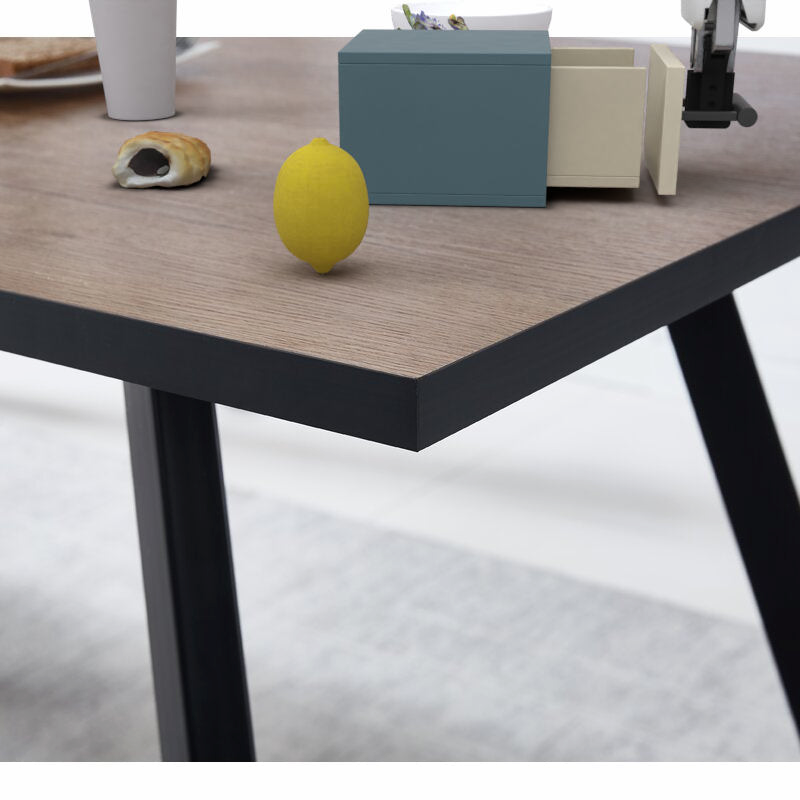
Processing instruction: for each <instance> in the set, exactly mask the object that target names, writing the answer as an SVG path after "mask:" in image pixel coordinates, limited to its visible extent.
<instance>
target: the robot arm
mask: <svg viewBox="0 0 800 800" xmlns="http://www.w3.org/2000/svg"><path fill="white" fill-rule="evenodd" d="M766 8H767V0H680V14H681V18H682V19H683V20H684V21H685V22H686V23H687V24H689V25H690V26H691V28H690V29H691V35H690V53H689V69H687V71H686V84H685V85H686V86H685V97H684V98H685V107H684V110H683V111H732V102H733V93H734V89H735V78H736V72H735V63H736V55H737V47H738V45H737V44H738V38H739V37H738V36H739V28H740V24H741V25H742V26H743V27H745V28H746V29H748V30H749V31H751V32H758V31H759V30H760V29H762V27H763V26H764V25H765V23H766V10H767V9H766ZM683 122H684V125H686V127H687V128H689V129H706V130H707V129H708V130H711V129H712V130H713V129H714V130H717V129H718V130H726V129H728V128H729V127H730V126H731V123H732V121H687V120H683Z"/></svg>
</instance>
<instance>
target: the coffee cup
mask: <svg viewBox="0 0 800 800" xmlns="http://www.w3.org/2000/svg"><path fill="white" fill-rule="evenodd" d="M88 4H89V5H88V6H89V10H90V11H89V12H90V17H91V21H92V27H93V33H94V39H95V45H96V51H97V56H98V63H99V69H100V75H101V79H102V85H103V86H102V87H103V92H104V98H105V103H106V110H107V115H108V117H109V118H110V119H114V120H121V121H152V120H160V119H166V118H171V117H173V116H175V115H176V78H177V77H176V76H177V74H176V71H177V21H178V20H177V15H178V14H177V13H178V12H177V11H178V0H88Z"/></svg>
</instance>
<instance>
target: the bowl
mask: <svg viewBox="0 0 800 800" xmlns="http://www.w3.org/2000/svg"><path fill="white" fill-rule="evenodd" d="M403 4H404V3H401V4H397V5H393V6H391V7H390V15H391V16H390V17H391V22H392V26H393V29H398V28H399V27H400V29H403V30H413V29H412V27H411V26H410V25H409V22H408V20H407V18H406V16H405V14H404V11H403V7H402V5H403ZM406 4H407V5H408V6H409V9H410V12H411V13H414V14H415V15H416V14H417V13H418V14H419V15H420V14H421V11H424V14H425V15H426V17H427V16H429V17H430V19H431V20H432V19H434V18H436V22H437V24H441V25H443V27H444V28H446V29H447V30H454V29H453V28H452V27H451V26H450V24H449V23H448V18H450V16H451V15H452V14H454V15H455V16H456V19H457V17H458V16H461V17H462V18H463V19H464V22H465V24H466V26H467V28H468V29H469V30H548V31H549V28H550V25H551V23H552V18H553V17H552V16H553V8H552V6H549V5H545V4H540V3H534V2H533V3H532V2H522V1H506V0H505V1H504V0H436V1H418V2H409V3H406Z"/></svg>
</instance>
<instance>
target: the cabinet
mask: <svg viewBox="0 0 800 800" xmlns="http://www.w3.org/2000/svg"><path fill="white" fill-rule="evenodd" d="M551 47H552V46H551V40H550V32H549V29H548V30H397V29H394V28H392V29H391V28H390V29H387V28H386V29H383V28H381V29H379V28H378V29H377V28H376V29H375V28H374V29H373V28H369V29H368V28H364V29H361V30H360V31H359V32H358V33H357V34H356V35H355V36H354V37H353V38H352V39H351V40H349V41H348V42H347V43H346V44H345V45H344V46H343V47H341V49H339V51H338V52H337V64H338V65H337V77H338V78H337V80H338V81H337V82H338V85H337V86H338V129H339V130H338V132H339V147H340V148H341V149H343V150H344V151H346V152H347V153H348V154H350V155H351V156H352V157H353V158H354V159H355V161H356V162H357V163H358V165H359V167H360V169H361V171H362V173H363V176H364V179H365V183H366V187H367V193H368V200H369V205H392V206H393V205H395V206H397V205H398V206H452V207H504V208H507V207H510V208H546V207H547V187H548V186H547V160H548V134H549V109H550V83H551V57H552V54H551Z"/></svg>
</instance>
